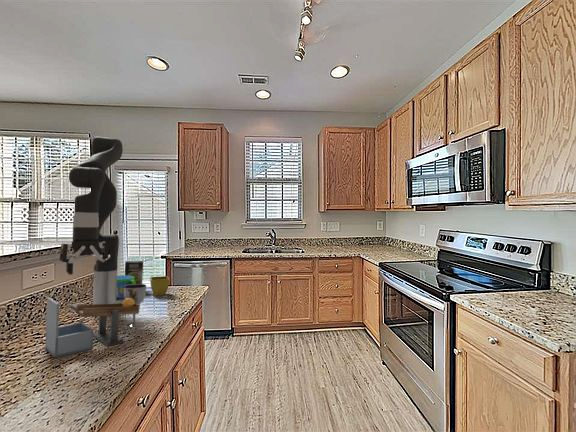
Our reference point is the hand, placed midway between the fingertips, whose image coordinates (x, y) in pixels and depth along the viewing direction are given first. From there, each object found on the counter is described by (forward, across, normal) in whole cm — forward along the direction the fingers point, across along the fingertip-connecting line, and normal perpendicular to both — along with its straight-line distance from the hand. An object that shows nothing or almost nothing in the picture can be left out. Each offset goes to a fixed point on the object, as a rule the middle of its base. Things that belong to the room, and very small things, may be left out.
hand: (84, 272), depth 115 cm
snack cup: (+23, -34, -45) cm, 61 cm away
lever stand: (+22, -6, +7) cm, 24 cm away
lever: (+13, -5, +3) cm, 15 cm away
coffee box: (+23, -44, -55) cm, 74 cm away
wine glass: (+23, -19, -2) cm, 29 cm away
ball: (+11, -12, +7) cm, 18 cm away
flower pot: (+23, -49, -38) cm, 66 cm away
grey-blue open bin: (+22, +6, +7) cm, 24 cm away
